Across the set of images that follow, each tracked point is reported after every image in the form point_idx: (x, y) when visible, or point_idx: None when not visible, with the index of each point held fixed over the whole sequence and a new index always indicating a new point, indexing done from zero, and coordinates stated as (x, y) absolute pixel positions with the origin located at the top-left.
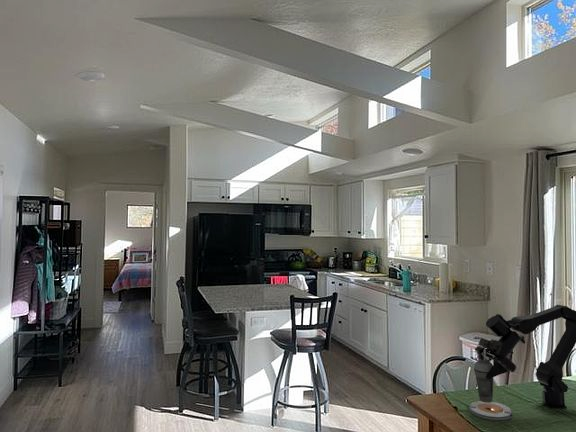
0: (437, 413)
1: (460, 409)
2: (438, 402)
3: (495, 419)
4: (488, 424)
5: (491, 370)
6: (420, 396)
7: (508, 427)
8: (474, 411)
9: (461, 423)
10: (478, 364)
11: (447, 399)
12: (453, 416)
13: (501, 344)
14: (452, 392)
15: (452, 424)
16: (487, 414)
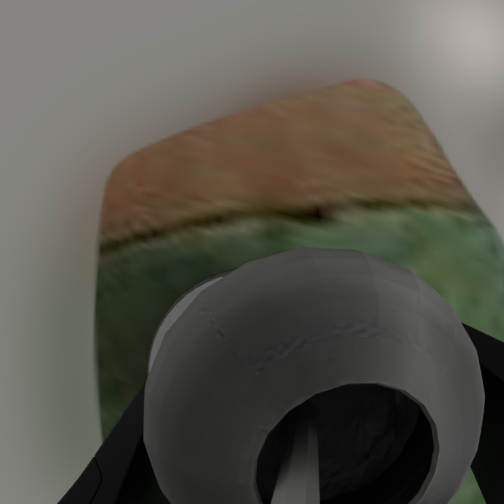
0: (234, 132)
1: (288, 234)
2: (363, 158)
3: (149, 360)
4: (119, 313)
5: (98, 454)
6: (411, 112)
7: (96, 385)
8: (215, 281)
9: (133, 203)
10: (232, 285)
11: (409, 205)
12: (202, 185)
13: None
14: (491, 251)
15: (129, 170)
16: (162, 330)
